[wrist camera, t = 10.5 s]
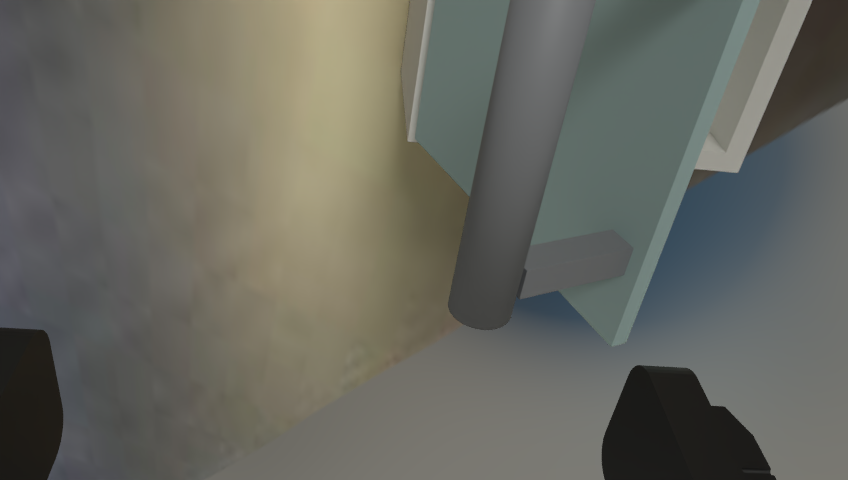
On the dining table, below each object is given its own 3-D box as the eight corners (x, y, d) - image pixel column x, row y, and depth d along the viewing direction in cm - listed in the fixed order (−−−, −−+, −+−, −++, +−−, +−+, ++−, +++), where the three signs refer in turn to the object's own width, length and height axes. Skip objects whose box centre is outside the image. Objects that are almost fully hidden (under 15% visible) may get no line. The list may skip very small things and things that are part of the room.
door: (490, -262, 25) (314, -290, 23) (835, -193, 16) (602, -228, 13) (426, 137, 34) (293, 151, 31) (625, 342, 24) (457, 390, 21)
